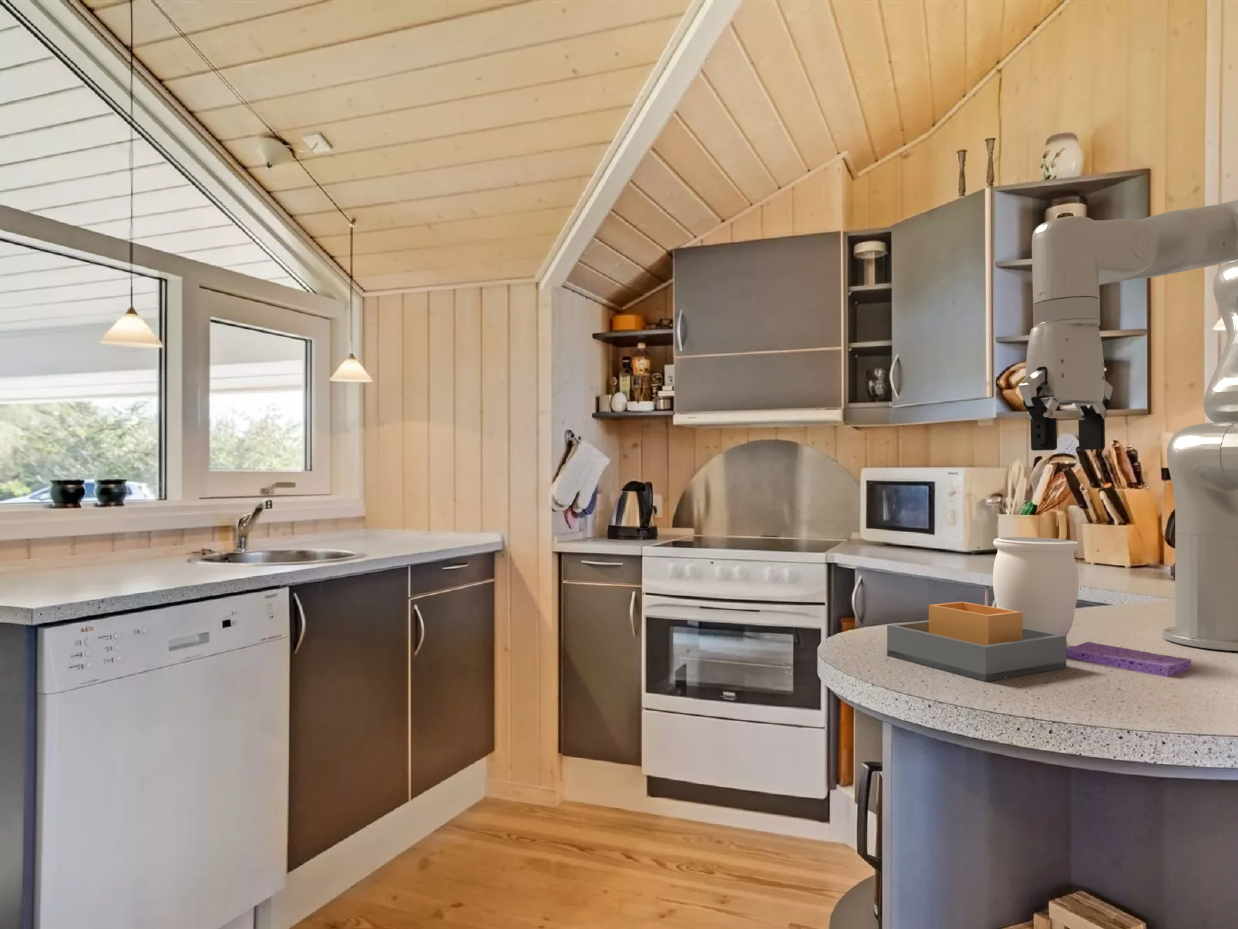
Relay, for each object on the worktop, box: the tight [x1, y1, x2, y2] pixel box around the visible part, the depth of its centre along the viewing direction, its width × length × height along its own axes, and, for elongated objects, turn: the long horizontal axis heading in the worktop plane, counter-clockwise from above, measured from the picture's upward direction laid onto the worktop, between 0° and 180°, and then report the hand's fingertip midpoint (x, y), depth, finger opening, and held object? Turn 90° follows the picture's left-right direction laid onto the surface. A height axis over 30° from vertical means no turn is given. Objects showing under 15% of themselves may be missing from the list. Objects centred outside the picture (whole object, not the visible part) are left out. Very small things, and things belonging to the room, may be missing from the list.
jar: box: [992, 536, 1080, 648], centre depth 112 cm, size 11×10×15 cm
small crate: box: [928, 601, 1023, 645], centre depth 104 cm, size 6×9×6 cm
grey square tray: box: [886, 619, 1067, 682], centre depth 104 cm, size 15×15×4 cm
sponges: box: [1066, 641, 1192, 678], centre depth 103 cm, size 7×13×2 cm, turn 35°
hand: (1068, 449), depth 104 cm, fingers open, 9 cm apart
